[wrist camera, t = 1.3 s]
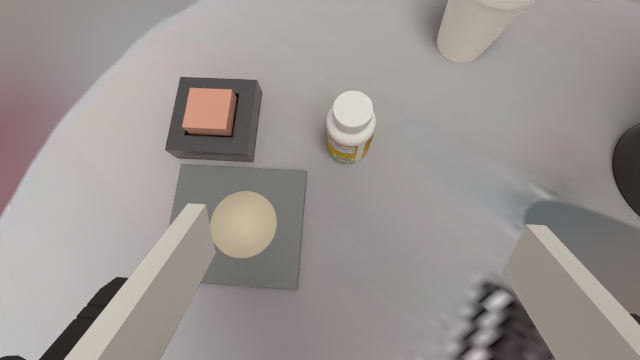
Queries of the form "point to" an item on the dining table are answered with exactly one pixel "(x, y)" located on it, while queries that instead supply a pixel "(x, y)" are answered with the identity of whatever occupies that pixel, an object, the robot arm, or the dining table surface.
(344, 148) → the supplement bottle
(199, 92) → the button
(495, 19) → the foam cup
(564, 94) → the dining table surface
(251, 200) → the slate board
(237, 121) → the button housing
